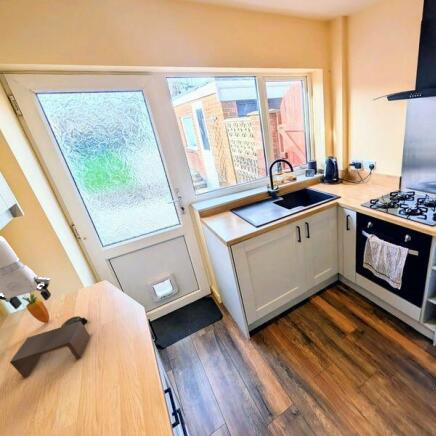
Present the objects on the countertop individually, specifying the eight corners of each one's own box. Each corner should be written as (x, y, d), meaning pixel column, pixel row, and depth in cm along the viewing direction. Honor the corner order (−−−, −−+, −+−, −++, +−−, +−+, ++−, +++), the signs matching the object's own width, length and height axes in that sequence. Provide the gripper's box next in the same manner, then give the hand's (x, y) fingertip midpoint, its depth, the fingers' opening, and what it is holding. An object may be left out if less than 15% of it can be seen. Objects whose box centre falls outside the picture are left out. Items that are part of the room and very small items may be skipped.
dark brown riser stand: (23, 377, 81) (9, 362, 77) (39, 352, 89) (27, 337, 86) (80, 357, 86) (69, 342, 82) (90, 335, 94) (80, 320, 91)
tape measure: (71, 337, 94) (66, 330, 93) (60, 333, 97) (56, 326, 95) (89, 323, 100) (85, 317, 98) (79, 320, 102) (75, 313, 101)
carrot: (36, 326, 102) (15, 299, 95) (49, 317, 106) (30, 290, 100) (45, 328, 100) (24, 300, 94) (58, 318, 105) (39, 291, 98)
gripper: (-30, 281, 85) (0, 316, 93) (30, 265, 90) (55, 300, 98) (-15, 269, 92) (12, 303, 99) (41, 255, 97) (63, 289, 104)
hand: (33, 302), depth 99 cm, fingers open, 9 cm apart
